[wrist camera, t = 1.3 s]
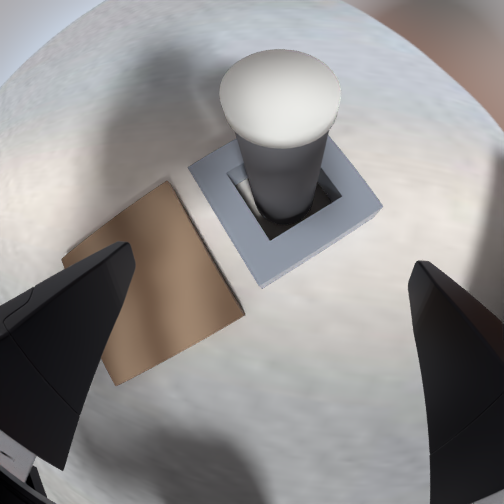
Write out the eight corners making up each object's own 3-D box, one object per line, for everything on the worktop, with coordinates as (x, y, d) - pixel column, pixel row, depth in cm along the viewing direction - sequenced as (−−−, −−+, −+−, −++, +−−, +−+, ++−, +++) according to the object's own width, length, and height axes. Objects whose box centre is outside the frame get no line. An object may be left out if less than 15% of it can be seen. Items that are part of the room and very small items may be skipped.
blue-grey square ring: (262, 288, 21) (259, 286, 19) (197, 181, 24) (187, 167, 21) (373, 217, 22) (383, 206, 19) (300, 122, 24) (301, 104, 21)
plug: (273, 239, 22) (260, 157, 10) (240, 188, 23) (199, 79, 11) (327, 206, 22) (365, 102, 10) (292, 159, 23) (293, 37, 11)
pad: (121, 383, 21) (115, 386, 20) (68, 260, 24) (61, 258, 23) (245, 315, 21) (243, 315, 20) (171, 185, 24) (167, 180, 23)
